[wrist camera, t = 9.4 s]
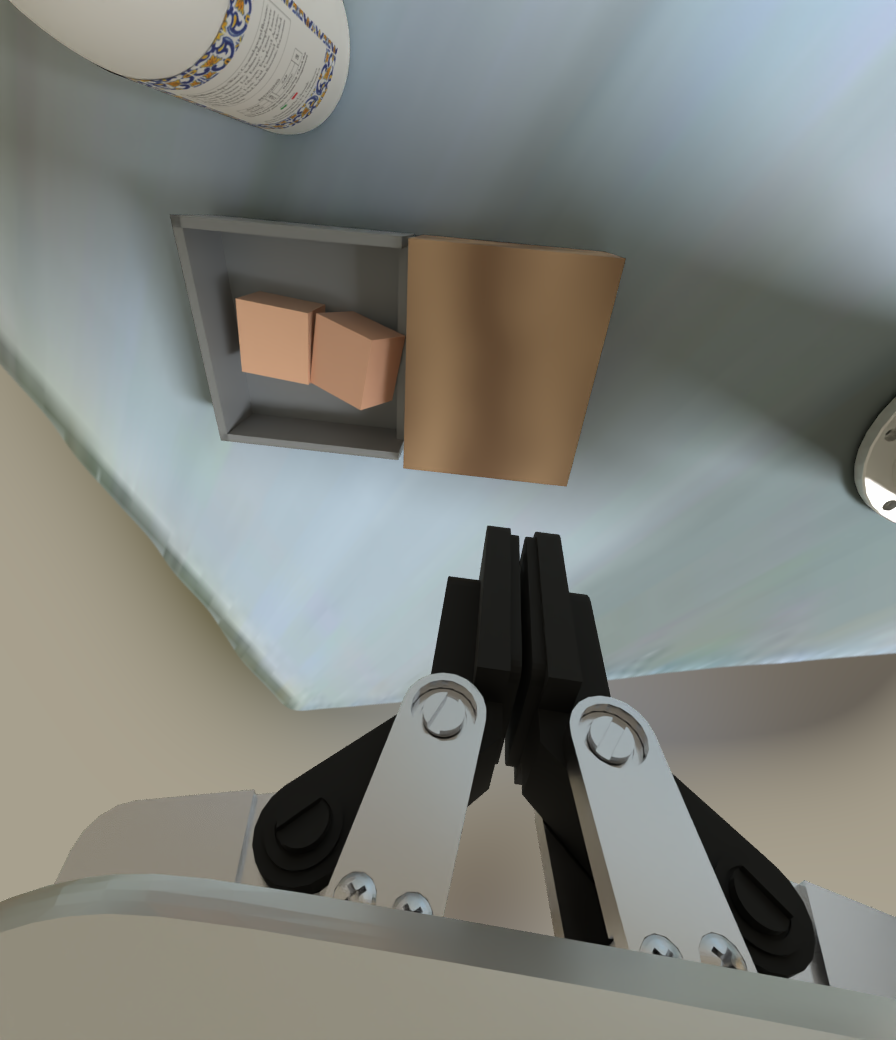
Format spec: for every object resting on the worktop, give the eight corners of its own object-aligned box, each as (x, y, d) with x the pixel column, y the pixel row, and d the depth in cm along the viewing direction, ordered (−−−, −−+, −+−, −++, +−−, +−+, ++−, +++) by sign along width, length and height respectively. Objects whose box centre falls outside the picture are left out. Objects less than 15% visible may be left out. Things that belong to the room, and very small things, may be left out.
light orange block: (235, 298, 24) (259, 291, 27) (242, 371, 27) (263, 358, 29) (307, 313, 25) (325, 304, 27) (308, 384, 27) (324, 370, 29)
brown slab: (604, 251, 25) (625, 258, 20) (557, 450, 31) (566, 486, 27) (423, 234, 25) (408, 238, 21) (415, 435, 32) (403, 468, 28)
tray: (414, 233, 25) (401, 236, 22) (408, 434, 32) (398, 460, 28) (212, 215, 25) (169, 214, 22) (249, 417, 32) (220, 440, 29)
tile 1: (405, 336, 26) (372, 340, 24) (392, 400, 28) (360, 410, 26) (353, 311, 27) (316, 313, 25) (344, 374, 29) (310, 382, 27)
